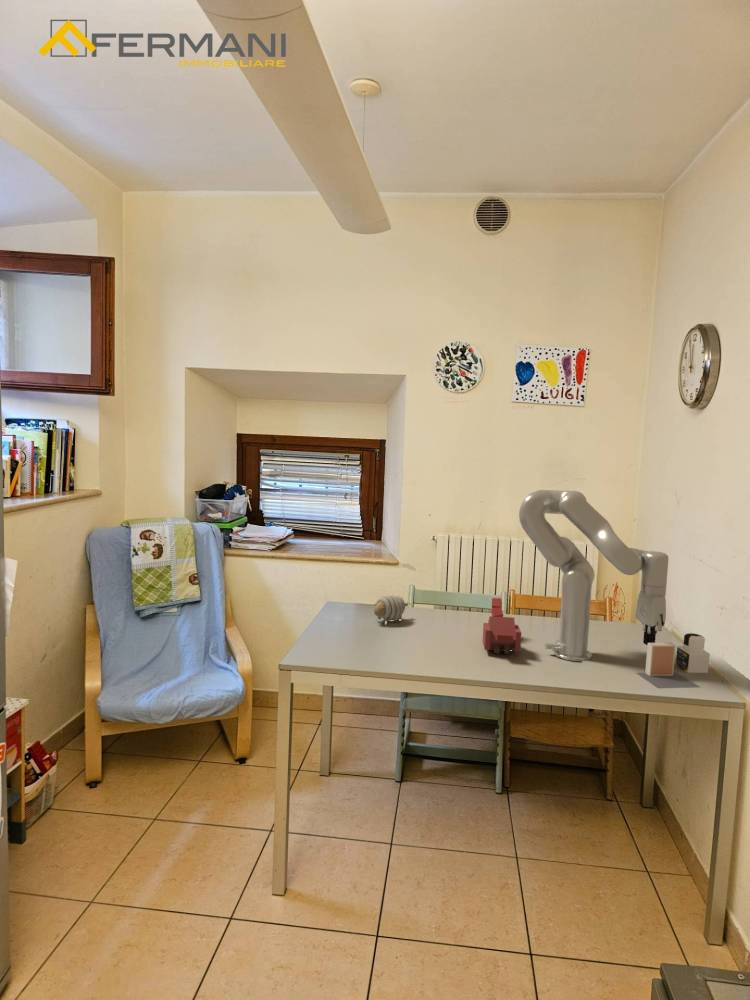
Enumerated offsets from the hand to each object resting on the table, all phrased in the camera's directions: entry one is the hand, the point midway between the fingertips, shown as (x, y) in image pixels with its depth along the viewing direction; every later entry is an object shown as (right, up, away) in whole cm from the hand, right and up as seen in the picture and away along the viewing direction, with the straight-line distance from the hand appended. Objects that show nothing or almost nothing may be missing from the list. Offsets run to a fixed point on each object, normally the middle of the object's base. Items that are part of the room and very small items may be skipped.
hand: (649, 644), depth 206 cm
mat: (+1, -9, -10) cm, 14 cm away
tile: (+1, -8, -6) cm, 10 cm away
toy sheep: (-84, -1, +42) cm, 94 cm away
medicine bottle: (+14, -9, 0) cm, 17 cm away
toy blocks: (-46, -5, +17) cm, 49 cm away
